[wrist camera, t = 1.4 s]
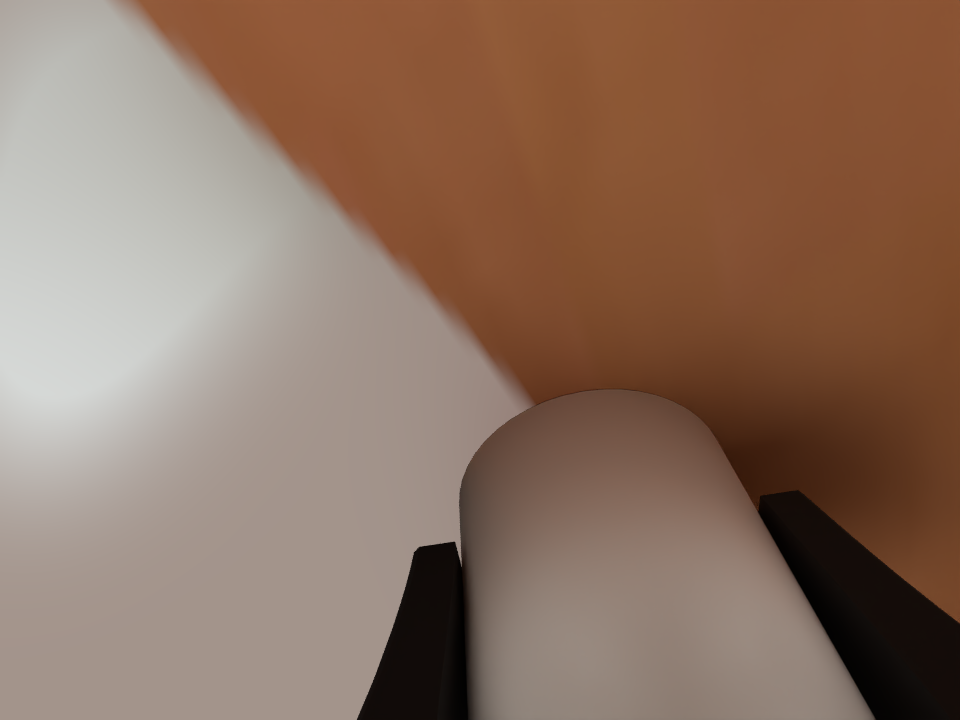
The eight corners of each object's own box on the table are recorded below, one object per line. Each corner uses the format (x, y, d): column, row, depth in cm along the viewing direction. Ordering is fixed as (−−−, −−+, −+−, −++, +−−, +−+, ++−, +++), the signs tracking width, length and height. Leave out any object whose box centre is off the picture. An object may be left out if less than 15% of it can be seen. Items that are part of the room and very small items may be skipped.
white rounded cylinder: (780, 448, 12) (1044, 834, 7) (622, 606, 14) (728, 980, 9) (548, 345, 10) (659, 743, 5) (414, 541, 12) (399, 948, 7)
